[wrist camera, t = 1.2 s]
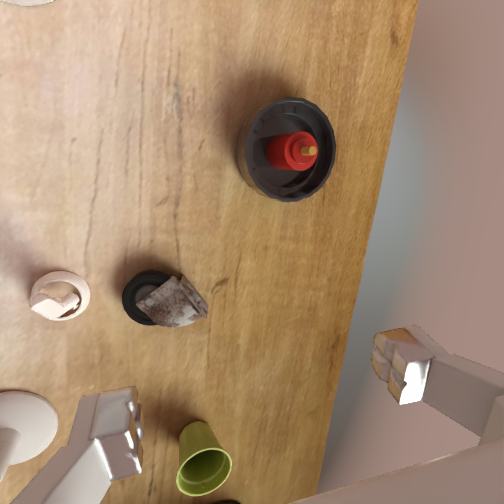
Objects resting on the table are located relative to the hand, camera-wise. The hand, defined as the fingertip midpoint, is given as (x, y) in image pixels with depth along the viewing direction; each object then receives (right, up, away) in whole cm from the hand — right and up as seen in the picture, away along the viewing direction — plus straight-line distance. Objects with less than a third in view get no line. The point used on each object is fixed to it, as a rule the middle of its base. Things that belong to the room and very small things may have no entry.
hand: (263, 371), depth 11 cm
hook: (-29, -2, +38) cm, 48 cm away
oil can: (+4, +20, +43) cm, 48 cm away
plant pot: (-11, -31, +53) cm, 62 cm away
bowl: (+4, +20, +44) cm, 49 cm away
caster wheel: (-15, -3, +44) cm, 46 cm away
